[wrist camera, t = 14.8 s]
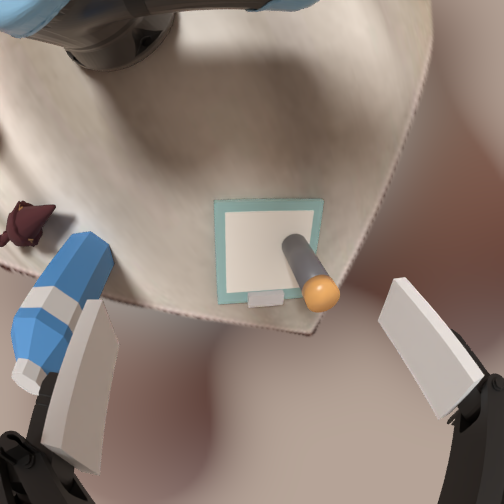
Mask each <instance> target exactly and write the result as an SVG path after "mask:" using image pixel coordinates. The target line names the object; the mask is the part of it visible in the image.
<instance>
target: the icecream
mask: <svg viewBox="0 0 504 504" xmlns="http://www.w3.org/2000/svg"><path fill="white" fill-rule="evenodd" d="M55 208H56V205H41V206H33V205H32V204H29V203H26V202H25V201H22V202H20V201H18V203H17V204H16V206H15V208H14V210H13V211H12V212H11V213H9V216H8V220H7V226H6V231H4V232H3V234H2V235H0V247H3V246H5V245H6V244H7V242H9V241H10V240H11V241H12V242H13V243H14V244H15V245H16V246H33V247H34V246H35V245H37V244H38V242H39V240H40V238H41V236H42V233H43V231H42V227H43V226H44V224H45V223H46V221H47V220H48V218H49V217H50V215H51V214H52V212H53V211H54V210H55Z"/></svg>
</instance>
